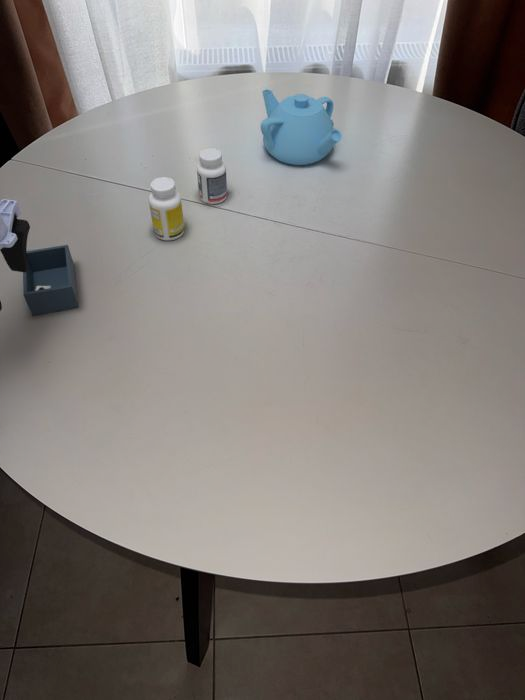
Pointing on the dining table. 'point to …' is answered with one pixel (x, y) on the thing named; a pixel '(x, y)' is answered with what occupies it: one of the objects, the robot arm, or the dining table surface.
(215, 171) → the pill bottle
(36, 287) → the cube with brown bumps
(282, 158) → the teapot
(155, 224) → the supplement bottle
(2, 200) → the robot arm
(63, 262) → the bin
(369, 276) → the dining table surface
